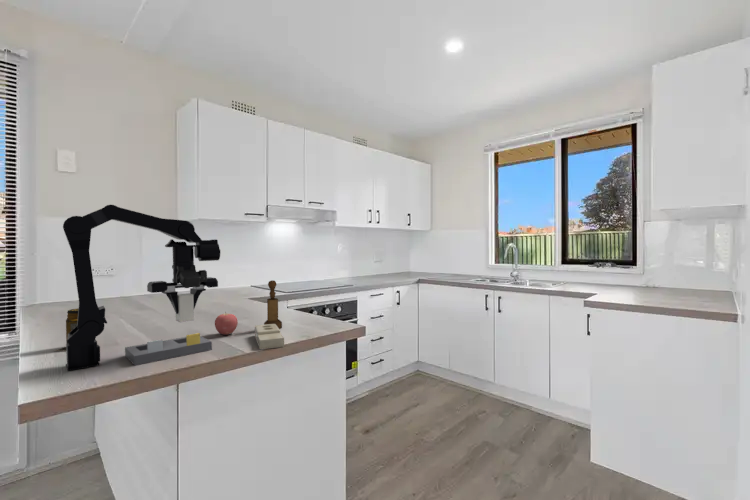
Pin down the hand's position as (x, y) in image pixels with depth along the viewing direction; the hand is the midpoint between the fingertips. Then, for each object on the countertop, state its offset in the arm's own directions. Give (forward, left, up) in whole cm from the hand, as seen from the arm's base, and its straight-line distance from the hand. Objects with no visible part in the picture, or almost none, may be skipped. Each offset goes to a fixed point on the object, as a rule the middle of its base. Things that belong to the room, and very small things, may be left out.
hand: (184, 312), depth 115 cm
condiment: (-24, +26, -11) cm, 37 cm away
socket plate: (-5, -2, -11) cm, 12 cm away
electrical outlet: (+22, -11, -12) cm, 27 cm away
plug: (0, 0, -2) cm, 2 cm away
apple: (+16, +8, -11) cm, 21 cm away
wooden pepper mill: (+32, +4, -11) cm, 34 cm away
